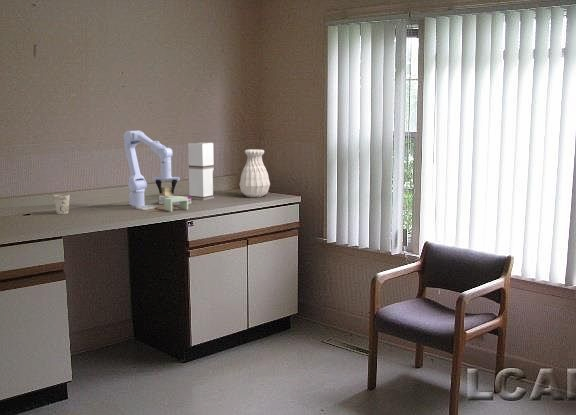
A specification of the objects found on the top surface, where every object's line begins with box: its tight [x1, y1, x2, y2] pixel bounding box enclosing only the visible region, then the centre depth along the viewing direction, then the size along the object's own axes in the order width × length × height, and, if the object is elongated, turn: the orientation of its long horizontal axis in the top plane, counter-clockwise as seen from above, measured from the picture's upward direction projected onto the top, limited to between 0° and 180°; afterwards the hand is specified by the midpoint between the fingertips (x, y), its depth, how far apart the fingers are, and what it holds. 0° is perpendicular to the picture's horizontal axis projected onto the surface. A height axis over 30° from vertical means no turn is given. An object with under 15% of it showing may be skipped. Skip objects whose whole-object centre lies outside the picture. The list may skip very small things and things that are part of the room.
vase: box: [239, 148, 271, 198], centre depth 423 cm, size 20×20×30 cm
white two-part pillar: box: [187, 141, 215, 201], centre depth 413 cm, size 11×11×35 cm
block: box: [160, 186, 173, 197], centre depth 370 cm, size 4×4×5 cm
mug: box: [53, 193, 71, 215], centre depth 361 cm, size 8×13×10 cm, turn 27°
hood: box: [163, 195, 189, 213], centre depth 364 cm, size 7×11×7 cm, turn 131°
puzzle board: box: [133, 204, 187, 214], centre depth 369 cm, size 23×22×1 cm
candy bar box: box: [158, 195, 192, 206], centre depth 389 cm, size 11×5×16 cm
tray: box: [135, 204, 156, 211], centre depth 370 cm, size 8×8×1 cm
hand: (166, 193), depth 370 cm, fingers closed on block, 6 cm apart
